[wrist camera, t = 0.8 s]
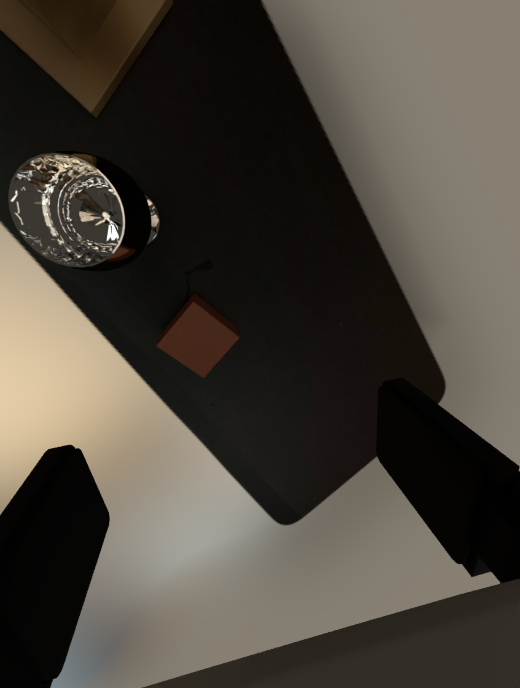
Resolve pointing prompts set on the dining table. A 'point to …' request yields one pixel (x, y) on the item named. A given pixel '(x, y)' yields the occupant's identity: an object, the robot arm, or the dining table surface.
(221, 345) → the block
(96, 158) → the wineglass
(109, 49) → the pedestal
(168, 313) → the dining table surface
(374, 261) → the dining table surface
